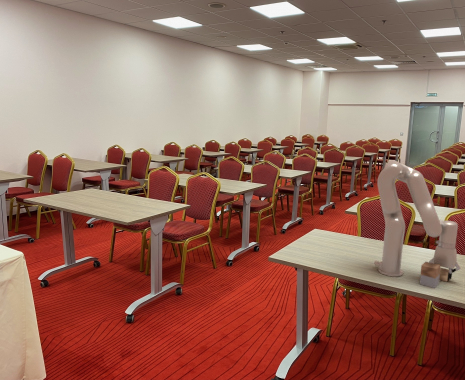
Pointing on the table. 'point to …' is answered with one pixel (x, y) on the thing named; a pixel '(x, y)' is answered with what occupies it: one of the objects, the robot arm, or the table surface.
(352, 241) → the table surface
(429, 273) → the top block
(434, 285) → the base block
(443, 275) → the oak cube
